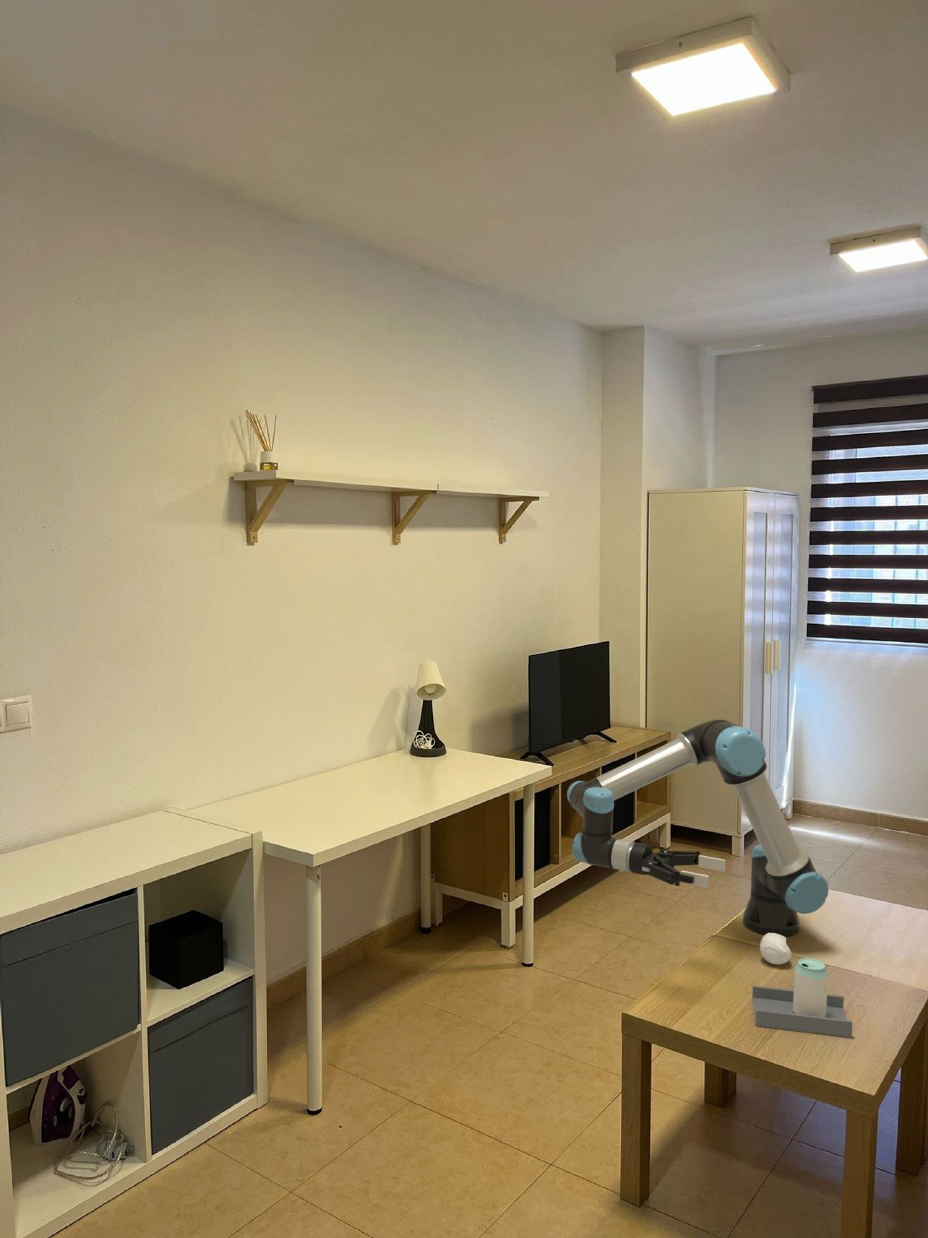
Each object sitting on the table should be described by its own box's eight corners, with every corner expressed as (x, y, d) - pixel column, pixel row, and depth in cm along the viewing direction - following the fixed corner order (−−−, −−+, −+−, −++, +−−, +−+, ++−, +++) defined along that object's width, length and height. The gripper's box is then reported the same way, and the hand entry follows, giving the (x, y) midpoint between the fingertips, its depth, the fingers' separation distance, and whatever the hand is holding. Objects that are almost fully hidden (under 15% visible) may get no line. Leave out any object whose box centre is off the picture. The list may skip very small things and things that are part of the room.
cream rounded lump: (793, 971, 240) (794, 941, 239) (762, 969, 240) (763, 939, 240) (786, 957, 247) (788, 928, 247) (756, 955, 248) (757, 926, 248)
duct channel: (752, 999, 224) (752, 985, 224) (842, 1010, 219) (843, 996, 219) (755, 1026, 212) (756, 1010, 211) (851, 1038, 207) (852, 1022, 207)
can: (817, 1026, 210) (820, 973, 209) (787, 1015, 215) (789, 963, 214) (831, 1015, 215) (833, 963, 214) (801, 1004, 220) (803, 954, 219)
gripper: (650, 858, 250) (730, 874, 239) (613, 886, 229) (700, 905, 218) (650, 830, 249) (732, 844, 238) (614, 856, 228) (701, 873, 217)
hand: (717, 873), depth 228 cm, fingers open, 13 cm apart
